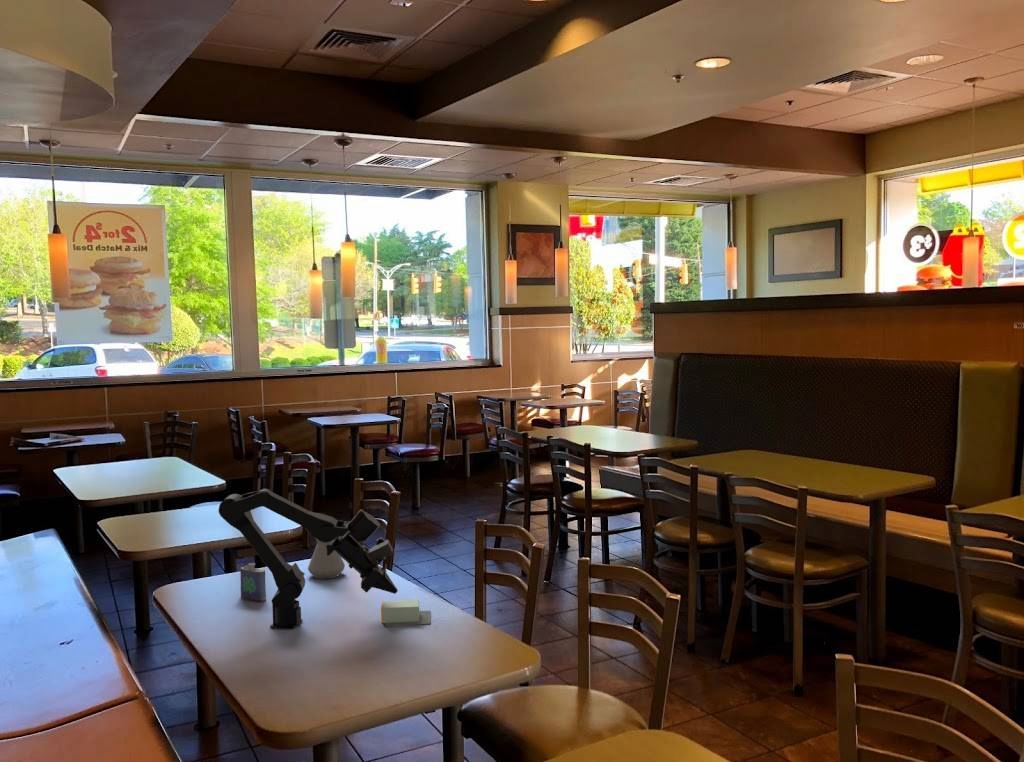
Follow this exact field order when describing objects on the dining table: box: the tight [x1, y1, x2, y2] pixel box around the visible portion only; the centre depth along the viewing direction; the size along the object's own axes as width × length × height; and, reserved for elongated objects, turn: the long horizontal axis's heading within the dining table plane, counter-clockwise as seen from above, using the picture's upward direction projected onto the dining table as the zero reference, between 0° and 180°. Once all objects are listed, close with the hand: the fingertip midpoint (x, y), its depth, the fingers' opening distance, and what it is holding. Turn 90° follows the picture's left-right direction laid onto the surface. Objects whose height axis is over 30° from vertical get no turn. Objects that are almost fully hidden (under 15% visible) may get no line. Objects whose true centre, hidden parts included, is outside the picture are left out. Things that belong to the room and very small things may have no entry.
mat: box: [384, 610, 431, 627], centre depth 232 cm, size 12×10×1 cm
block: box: [380, 598, 420, 624], centre depth 232 cm, size 4×6×10 cm
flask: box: [239, 562, 267, 603], centre depth 250 cm, size 9×3×11 cm, turn 61°
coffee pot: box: [307, 537, 346, 580], centre depth 268 cm, size 21×12×15 cm, turn 34°
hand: (396, 592), depth 231 cm, fingers closed
